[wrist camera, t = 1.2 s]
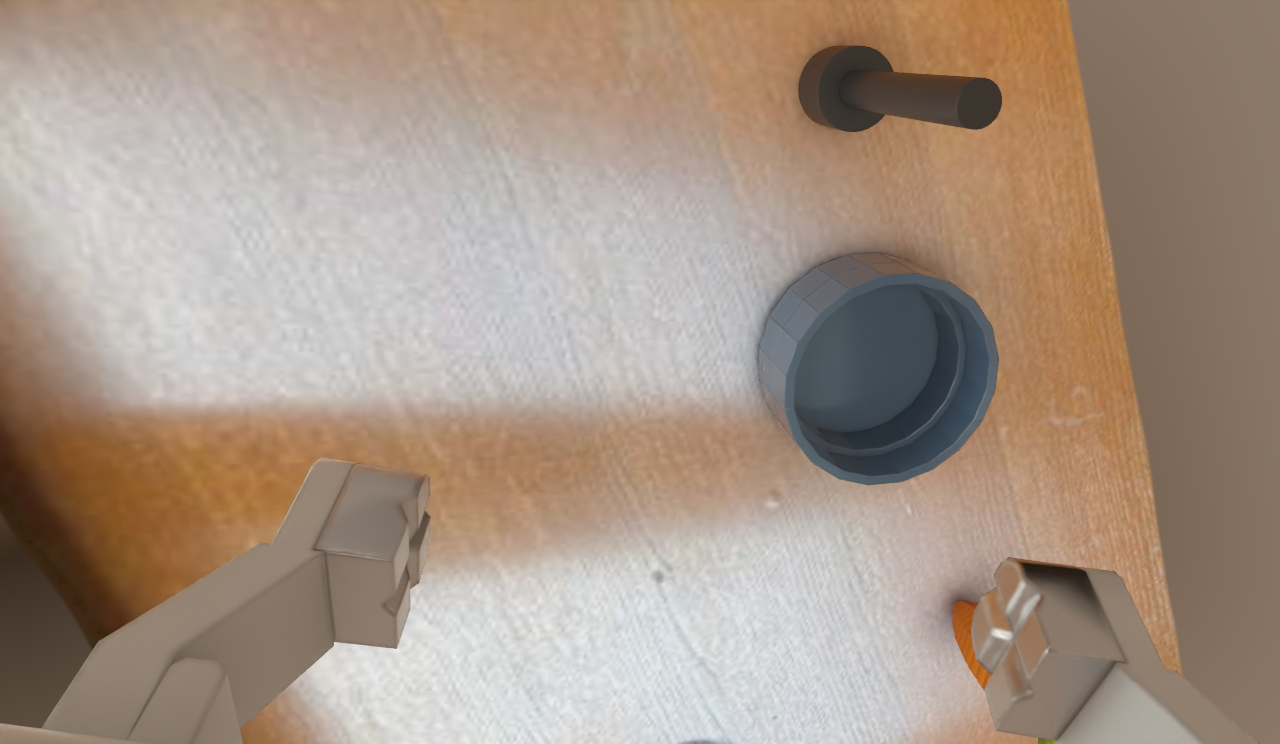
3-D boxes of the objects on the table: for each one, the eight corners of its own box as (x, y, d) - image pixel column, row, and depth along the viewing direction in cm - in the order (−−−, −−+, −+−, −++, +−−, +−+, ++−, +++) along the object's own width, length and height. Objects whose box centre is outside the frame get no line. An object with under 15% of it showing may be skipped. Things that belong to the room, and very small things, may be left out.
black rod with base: (799, 47, 50) (932, 47, 35) (874, 44, 51) (1036, 44, 36) (797, 128, 52) (923, 162, 37) (870, 125, 52) (1023, 157, 37)
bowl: (757, 257, 54) (788, 281, 48) (958, 245, 56) (1010, 267, 50) (753, 451, 58) (781, 494, 53) (939, 434, 60) (985, 474, 55)
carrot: (911, 618, 65) (1026, 774, 51) (951, 563, 64) (1079, 708, 50) (963, 641, 67) (1088, 799, 53) (1002, 589, 65) (1141, 735, 52)
